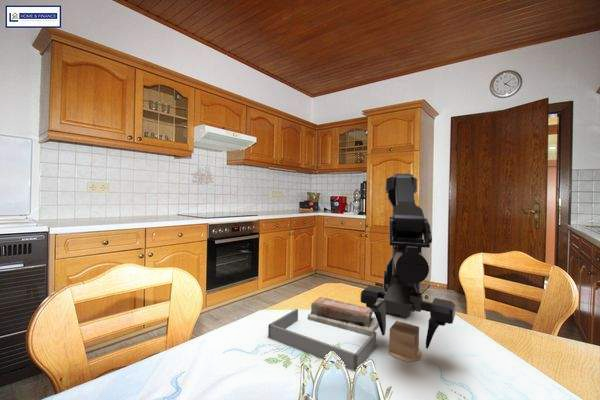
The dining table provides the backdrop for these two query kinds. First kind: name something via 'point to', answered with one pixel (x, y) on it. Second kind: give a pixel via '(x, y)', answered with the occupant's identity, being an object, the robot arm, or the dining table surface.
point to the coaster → (417, 357)
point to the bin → (317, 342)
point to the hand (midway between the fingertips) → (404, 341)
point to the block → (404, 339)
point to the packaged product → (343, 315)
